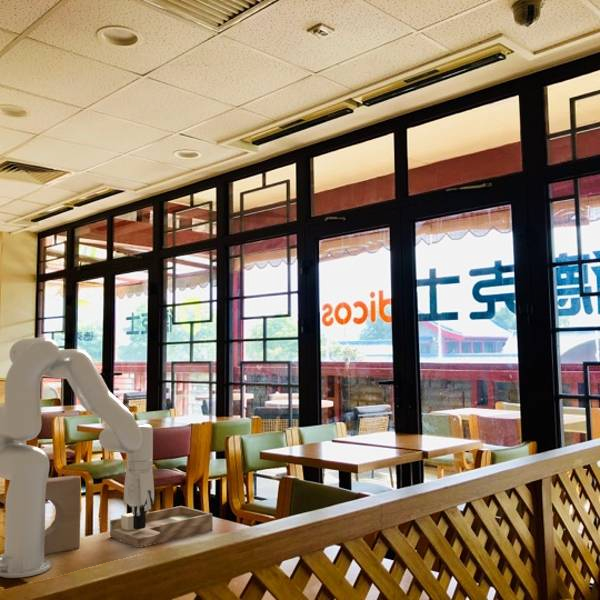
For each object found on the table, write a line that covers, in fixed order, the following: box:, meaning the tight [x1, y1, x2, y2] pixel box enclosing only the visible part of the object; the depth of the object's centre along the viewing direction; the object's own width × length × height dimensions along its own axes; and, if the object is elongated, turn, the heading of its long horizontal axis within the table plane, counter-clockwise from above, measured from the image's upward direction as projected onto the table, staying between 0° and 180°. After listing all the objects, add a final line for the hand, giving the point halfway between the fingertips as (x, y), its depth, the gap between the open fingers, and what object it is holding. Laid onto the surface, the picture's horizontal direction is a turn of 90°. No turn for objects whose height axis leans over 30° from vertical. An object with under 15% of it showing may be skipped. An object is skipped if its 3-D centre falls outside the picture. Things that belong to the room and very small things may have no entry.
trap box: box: [109, 505, 214, 548], centre depth 201 cm, size 26×17×5 cm, turn 135°
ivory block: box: [120, 512, 134, 530], centre depth 199 cm, size 4×4×4 cm
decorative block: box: [44, 474, 82, 556], centre depth 186 cm, size 11×6×20 cm, turn 128°
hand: (139, 528), depth 194 cm, fingers closed
